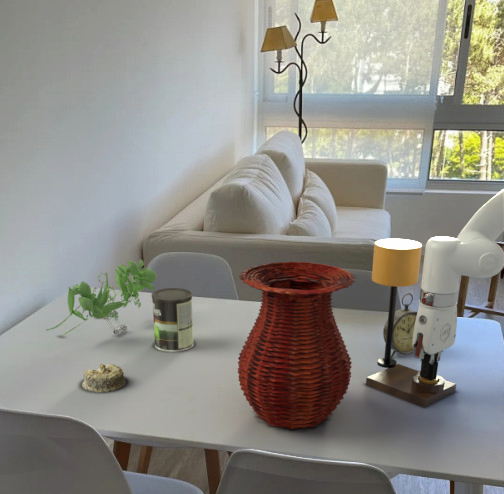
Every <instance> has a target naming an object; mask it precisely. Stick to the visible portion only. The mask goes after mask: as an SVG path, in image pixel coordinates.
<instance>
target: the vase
mask: <svg viewBox="0 0 504 494" xmlns="http://www.w3.org/2000/svg"><path fill="white" fill-rule="evenodd" d="M238 277H239V280H241V281H242V283H243V284H245V285H247V286H248V287H250V288H253V289H256V290H259V291H261V294H262V296H261V298H262V299H261V303H260V308H259V309H258V311H259V312H258V315H257V317H256V318H255V322H254V325H253V326H252V329H250V332H249V333H248V336H247V337H246V339H247V340H245V341H244V345H243V346H242V349H241V350H240V353H238V355H239V357H238V359H237V360H238V361H237V364H238V368H237V374H238V376H237V377H238V380H237V381H238V382H239V386H240V390H241V391H243V393H242V395H243V396H244V397H245V399H246V400H245V401H247V402H248V404H249V406H250V407H251V408H252V410H253V412H254V413H256V415H257V416H258V418H260V419H261V420H262V421H264V422H265V423H267V424H268V425H270V426H271V427H272V426H273V427H277V428H283V429H288V430H299V429H307V428H315V427H316V426H318V425H319V424H321V423H324V422H325V421H326V420H327V419H328V417H330V416H331V415H332V414H333V412H334V411H335V410H336V409H337V408H338V406H339V405H340V404H341V401H342V400H344V399H345V398H344V396H345V395H346V394H347V390H349V386H350V384H351V383H350V382H351V377H352V372H351V369H352V363H353V362H352V361H351V360H352V358H351V357H350V354H349V353H348V352H349V350H348V349H347V345H346V344H345V340H343V336H342V333H341V332H340V329H339V326H338V324H337V322H336V319H335V316H334V312H333V311H334V308H332V307H333V305H332V304H333V302H332V300H333V298H332V297H333V295H332V294H333V293H334V292H338V291H340V290H343V289H347V288H349V287H350V286H353V285H354V284H353V283H355V282H356V276H355V274H354V273H352V272H350V271H349V270H345V269H343V268H342V267H339V266H336V265H335V266H334V265H328V264H325V263H316V262H305V261H285V262H279V261H277V262H270V263H265V264H264V263H263V264H258V265H256V266H250V268H246V269H245V270H244V271H242V272H240V275H238Z"/></svg>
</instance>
